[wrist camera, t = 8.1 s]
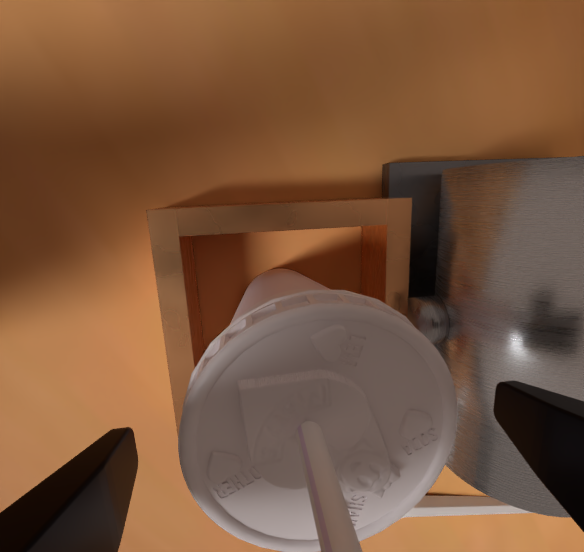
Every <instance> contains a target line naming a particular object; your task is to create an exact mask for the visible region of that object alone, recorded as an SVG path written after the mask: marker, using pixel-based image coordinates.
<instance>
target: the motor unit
mask: <svg viewBox="0 0 584 552" xmlns="http://www.w3.org/2000/svg"><path fill="white" fill-rule="evenodd" d="M146 211H147V218H148V225H149V233H150V240H151V247H152V254H153V261H154V268H155V276H156V283H157V290H158V297H159V304H160V311H161V319H162V326H163V333H164V340H165V347H166V355H167V362H168V369H169V376H170V383H171V390H172V398H173V405H174V412H175V419H176V426H177V433H178V437H179V427H180V421H181V417H182V412H183V403H184V399H185V396H186V392H187V388H188V385H189V381H190V377H191V374H192V372H193V370H194V369H195V367H196V366H197V364H198V362H199V361H200V359H201V358H202V356H203V354H204V353H205V352H204V343H203V334H202V325H201V316H200V307H199V298H198V289H197V280H196V271H195V262H194V253H193V244H192V236H196V235H214V234H232V233H249V232H267V231H285V230H303V229H320V228H338V227H356V226H362V247H361V295H365V296H368V297H372V298H375V299H378V300H380V301H382V302H383V303H385V304H386V305H388V306H390V307H391V308H393V309H394V310H396V311H398V312H399V313H401V314H403V315H404V316H406V317H407V319H408V320H409V321H410V322H411V323H412V324H413V325H414V327H415V328H416V329H418V330H419V331H420V332H421V333H422V334H423V335H425V336H426V337H427V338H428V339H429V340H430V341H431V343H432V344H433V345H434V346H435V347H436V349H437V350H438V351H439V353H440V354H441V356H442V357H443V359H444V361H445V363H446V365H447V367H448V369H449V371H450V374H451V376H452V379H453V382H454V386H455V391H456V397H457V410H458V416H457V427H456V433H455V438H454V442H453V445H452V448H451V451H450V454H449V456H448V459H447V462H446V464H445V465H446V466H447V467H448V468H449V469H450V470H451V471H452V472H454V473H455V474H456V475H457V476H459V477H460V478H461V479H462V480H464V481H465V482H467V483H468V484H470V485H471V486H473V487H474V488H476V489H477V490H479V491H481V492H483V493H484V494H486V495H488V496H490V497H492V498H494V499H497V500H499V501H501V502H503V503H506V504H508V505H511V506H513V507H516V508H519V509H523V510H526V511H529V512H533V513H538V514H542V515H547V516H555V517H571V516H570V515H569V514H568V513H567V512H566V510H565V509H564V508H563V507H562V506H561V505H560V503H559V502H558V501H557V500H556V499H555V497H554V496H553V495H552V494H551V493H550V492H549V490H548V489H547V488H546V487H545V486H544V484H543V483H542V482H541V481H540V480H539V478H538V477H537V476H536V474H535V473H534V472H533V470H532V469H531V468H530V466H529V465H528V464H527V462H526V461H525V459H524V458H523V457H522V455H521V454H520V453H519V451H518V450H517V448H516V447H515V446H514V444H513V443H512V441H511V440H510V439H509V437H508V436H507V434H506V433H505V432H504V430H503V429H502V427H501V426H500V425H499V423H498V422H497V420H496V418H495V416H494V412H493V408H494V398H495V389H496V385H497V384H498V383H499V382H503V381H511V380H514V381H519V382H522V383H525V384H528V385H532V386H535V387H538V388H542V389H545V390H548V391H552V392H555V393H558V394H561V395H565V396H568V397H571V398H575V399H578V400H581V401H584V156H579V157H559V158H529V159H498V160H467V161H436V162H405V163H388V164H383V168H382V198H361V199H339V200H317V201H296V202H274V203H252V204H230V205H208V206H186V207H165V208H158V209H150V210H146Z"/></svg>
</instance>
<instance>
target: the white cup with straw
mask: <svg viewBox="0 0 584 552" xmlns="http://www.w3.org/2000/svg"><path fill="white" fill-rule="evenodd" d="M457 416H458V410H457V397H456V391H455V386H454V382H453V379H452V376H451V374H450V371H449V369H448V367H447V365H446V363H445V361H444V359H443V357H442V356H441V354H440V353H439V351H438V350H437V349H436V347H435V346H434V345H433V344H432V343H431V341H430V340H429V339H428V338H427V337H426V336H425V335H423V334H422V333H421V332H420V331H419V330H418V329H416V328H415V327H414V325H413V324H412V323H411V322H410V321H409V320H408V319H407V317H406V316H404V315H403V314H401V313H399V312H398V311H396V310H394V309H393V308H391V307H390V306H388V305H386V304H385V303H383V302H382V301H380V300H378V299H375V298H372V297H368V296H365V295H361V294H357V293H354V292H350V291H347V290H331V289H329V288H327V287H325V286H323V285H321V284H319V283H317V282H315V281H314V280H312V279H310V278H308V277H306V276H304V275H302V274H300V273H298V272H296V271H293V270H290V269H282V268H280V269H272V270H269V271H266V272H264V273H262V274H260V275H259V276H257V277H256V278H255V279H254V280H253V281H252V282H251V283H250V284H249V286H248V288H247V289H246V291H245V294H244V296H243V298H242V300H241V302H240V304H239V306H238V308H237V310H236V313H235V315H234V317H233V319H232V321H231V323H230V325H229V326H228V327H227V328H226V329H225V330H224V331H223V332H222V333H221V334H219V335H218V336H217V337H216V338H215V339H214V340H213V341H212V342H211V343H210V345H209V346H208V348H207V349H206V351H205V353H204V354H203V356H202V358H201V359H200V361H199V362H198V364H197V366H196V367H195V369H194V370H193V372H192V374H191V377H190V381H189V385H188V388H187V392H186V396H185V399H184V403H183V412H182V417H181V421H180V427H179V437H178V451H179V458H180V465H181V469H182V473H183V476H184V479H185V481H186V484H187V486H188V488H189V490H190V492H191V494H192V496H193V498H194V499H195V501H196V502H197V503H198V505H199V506H200V508H201V509H202V510H203V511H204V512H205V513H206V514H207V516H208V517H209V518H211V519H212V520H213V521H214V522H215V523H216V524H217V525H219V526H220V527H221V528H223V529H224V530H226V531H227V532H229V533H230V534H232V535H234V536H236V537H237V538H239V539H241V540H244V541H246V542H248V543H251V544H254V545H257V546H259V547H263V548H268V549H273V550H278V551H283V552H317V551H321V552H362V549H361V546H360V543H359V542H360V541H362V540H364V539H366V538H368V537H370V536H373V535H375V534H377V533H379V532H381V531H383V530H384V529H386V528H387V527H389V526H390V525H392V524H393V523H395V522H396V521H398V520H399V519H401V518H402V517H403V516H404V515H405V514H406V513H408V512H409V511H410V510H411V509H412V508H413V507H414V506H415V505H416V504H417V503H419V502H420V501H421V499H422V498H423V497H424V496H425V494H426V493H427V492H428V491H429V489H430V488H431V487H432V486H433V484H434V483H435V482H436V480H437V478H438V476H439V474H440V473H441V471H442V469H443V467H444V465H445V464H446V462H447V459H448V456H449V454H450V451H451V448H452V445H453V442H454V438H455V433H456V427H457Z"/></svg>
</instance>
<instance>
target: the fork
mask: <svg viewBox="0 0 584 552" xmlns="http://www.w3.org/2000/svg"><path fill="white" fill-rule="evenodd" d="M512 513H533V512H529V511H526V510H523V509H519V508H516V507H513V506H511V505H508V504H506V503H503V502H501V501H499V500H497V499H494V498H492V497H482V496H424V497H423V498H422V499H421V501H420V502H419V503H417V504H416V505H415V506H414V507H413V508H412V509H411V510H410V511H409V512H408V513H406V514H405V515H404V516H403V517H402V518H404V517H421V516H451V515H482V514H512Z"/></svg>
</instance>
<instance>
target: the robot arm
mask: <svg viewBox="0 0 584 552" xmlns="http://www.w3.org/2000/svg"><path fill="white" fill-rule="evenodd" d="M493 412H494V416H495V418H496V420H497V422H498V423H499V425H500V426H501V427H502V429H503V430H504V432H505V433H506V434H507V436H508V437H509V439H510V440H511V441H512V443H513V444H514V446H515V447H516V448H517V450H518V451H519V453H520V454H521V455H522V457H523V458H524V459H525V461H526V462H527V464H528V465H529V466H530V468H531V469H532V470H533V472H534V473H535V474H536V476H537V477H538V478H539V480H540V481H541V482H542V483H543V484H544V486H545V487H546V488H547V489H548V490H549V492H550V493H551V494H552V495H553V496H554V497H555V499H556V500H557V501H558V502H559V503H560V505H561V506H562V507H563V508H564V509H565V510H566V512H567V513H568V514H569V515H570V516H571V518H572V519H573V520H574V521H575V522H576V523H577V525H578V526H579V527H580V528H581V529H582V531H583V532H584V401H581V400H578V399H575V398H571V397H568V396H565V395H561V394H558V393H555V392H552V391H548V390H545V389H542V388H538V387H535V386H532V385H528V384H525V383H522V382H519V381H514V380H511V381H503V382H499V383H498V384H497V385H496V389H495V398H494V408H493ZM137 469H138V455H137V449H136V443H135V438H134V432H133V430H132V429H131V428H130V427H126V428H118V429H112V430H110V431H109V432H107V433H106V434H105V435H103V436H102V437H101V438H99V439H98V440H97V441H95V442H94V443H93V444H91V445H90V446H89V447H87V448H86V449H85V450H83V451H82V452H81V453H79V454H78V455H77V456H75V457H74V458H73V459H71V460H70V461H69V462H67V463H66V464H65V465H63V466H62V467H61V468H59V469H58V470H57V471H55V472H54V473H53V474H51V475H50V476H49V477H47V478H46V479H45V480H43V481H42V482H41V483H39V484H38V485H37V486H35V487H34V488H33V489H31V490H30V491H29V492H27V493H26V494H25V495H23V496H22V497H21V498H19V499H18V500H17V501H15V502H14V503H13V504H11V505H10V506H9V507H7V508H6V509H5V510H3V511H2V512H1V513H0V552H118V549H119V546H120V542H121V538H122V534H123V530H124V526H125V521H126V517H127V513H128V508H129V504H130V500H131V495H132V491H133V487H134V482H135V478H136V474H137Z"/></svg>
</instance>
